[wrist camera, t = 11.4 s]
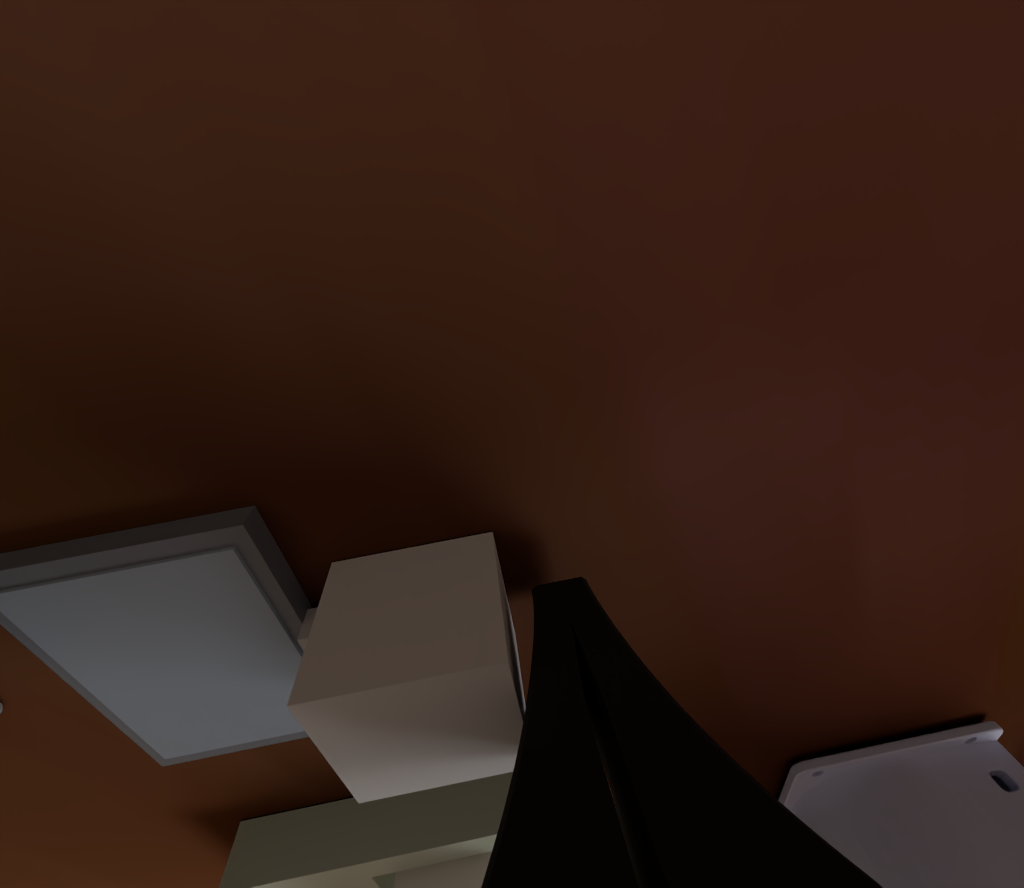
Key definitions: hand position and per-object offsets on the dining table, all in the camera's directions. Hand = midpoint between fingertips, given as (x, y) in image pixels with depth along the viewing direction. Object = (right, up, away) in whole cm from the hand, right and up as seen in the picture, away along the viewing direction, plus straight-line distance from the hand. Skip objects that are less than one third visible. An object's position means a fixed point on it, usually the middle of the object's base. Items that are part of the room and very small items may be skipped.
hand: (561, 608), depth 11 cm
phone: (-9, -1, +1) cm, 10 cm away
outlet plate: (-5, -13, +8) cm, 16 cm away
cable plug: (-3, 0, +1) cm, 3 cm away
